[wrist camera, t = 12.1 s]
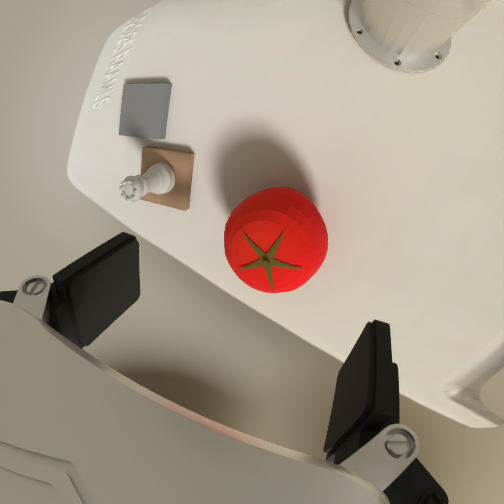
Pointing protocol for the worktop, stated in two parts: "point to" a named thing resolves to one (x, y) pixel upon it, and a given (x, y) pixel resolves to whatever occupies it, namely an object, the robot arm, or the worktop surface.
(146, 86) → the charcoal coaster
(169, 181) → the rook chess piece
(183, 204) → the walnut coaster
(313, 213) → the tomato
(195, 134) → the worktop surface
